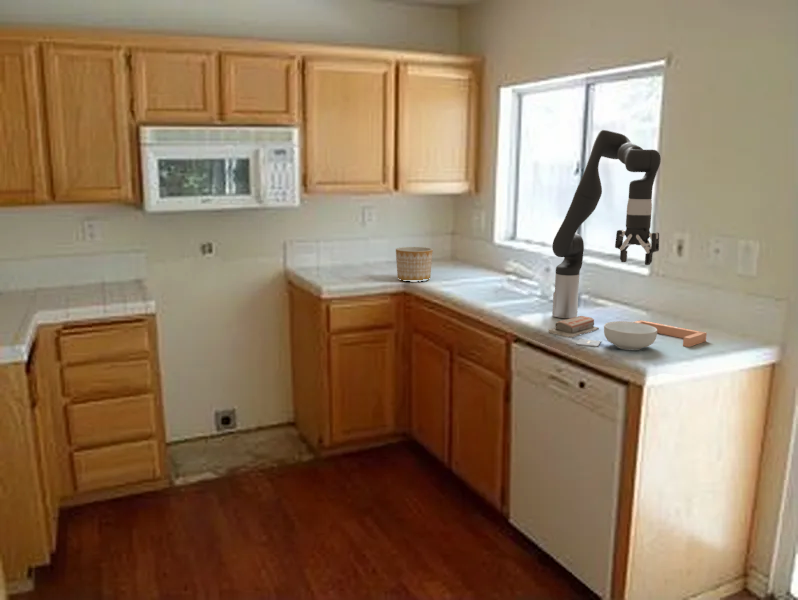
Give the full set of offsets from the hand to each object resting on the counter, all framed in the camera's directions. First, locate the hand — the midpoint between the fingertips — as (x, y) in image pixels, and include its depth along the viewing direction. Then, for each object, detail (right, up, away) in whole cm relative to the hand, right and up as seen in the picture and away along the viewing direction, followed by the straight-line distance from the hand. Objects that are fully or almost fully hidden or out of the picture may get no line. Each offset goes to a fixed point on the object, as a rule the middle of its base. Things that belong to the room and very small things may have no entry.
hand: (635, 263), depth 220 cm
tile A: (-12, -27, +10) cm, 31 cm away
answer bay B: (+16, -25, +19) cm, 35 cm away
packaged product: (-13, -24, +28) cm, 39 cm away
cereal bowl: (0, -28, +6) cm, 28 cm away
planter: (-69, -2, +136) cm, 152 cm away
